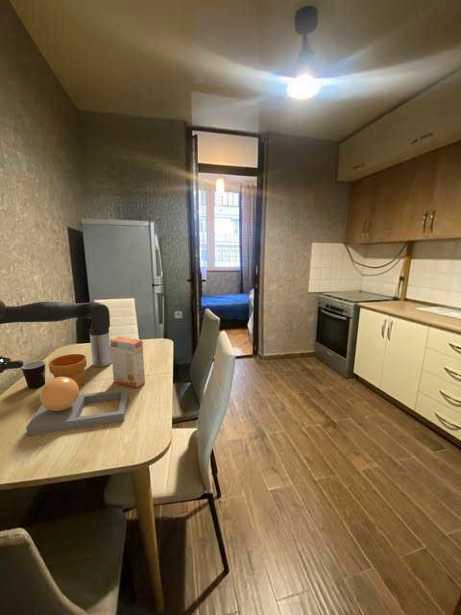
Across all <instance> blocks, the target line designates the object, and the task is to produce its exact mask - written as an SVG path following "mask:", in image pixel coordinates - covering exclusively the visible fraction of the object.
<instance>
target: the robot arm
mask: <svg viewBox="0 0 461 615" xmlns="http://www.w3.org/2000/svg"><path fill="white" fill-rule="evenodd" d="M109 309H110V308H109V307H108V306H107V305H106V304H103V303H100V302H97V301H93V302H82V303H76V302H75V303H73V302H61V301H39V302H38V301H37V302H32V303H27V304H22V305H16V306H15V305H11V306H10V305H9V306H7V305H6V304H5V303H4V301H3V300H2V299H0V325H4V324H11V323H12V324H13V323H45V322H46V323H56V322H63V321H68V320H71V319H89V320H90V321H91V327H90V328H89V331H88V332H89V341H90V350H91V359H92V366H94V367H95V368H101V367H102V368H103V367H107V366H109V365H111V364H112V354H111V342H110V340H111V338H110V326H111V315H110V310H109ZM11 360H12V359H11V357H10V358H9V357H5V356H2V355H1V356H0V374H1V373H4V371H9V370H12V369H14V370H16V369H22V368H21V367H22V366H23V365H24V361H23V360H12V361H11Z"/></svg>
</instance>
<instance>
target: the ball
mask: <svg viewBox="0 0 461 615" xmlns="http://www.w3.org/2000/svg"><path fill="white" fill-rule="evenodd" d="M78 395H80V388H79V387H78V385H77V383H76V382H75V381H74V380H73V379H71V378H68V377H57V378H52V379H51V380H49V381H48V382H45V385H44V386H42V389H41V391H40V394H39V399H40V403H41V406H42V405H43V406H44V407H45V408H46V409H48V410H50V411H63V410H66V409H68V408H69V407H71V406H72V405H73V404H74V403H75V402H76V400H77V398H78Z"/></svg>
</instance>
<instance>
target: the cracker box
mask: <svg viewBox="0 0 461 615" xmlns="http://www.w3.org/2000/svg"><path fill="white" fill-rule="evenodd" d="M110 345H111V354H112V363H111V364H112V375H113V382H114V383H117V384H120V385H124V386H127V387H132V388H135V389H137V388H139V387H140V386H142V385H144V384H145V383H146V382H145V381H146V379H145V377H146V376H145V363H144V362H145V361H144V348H143V347H144V342H143V340H140V339H136V338H135V339H134V338H130V337H123V336H117V337H115V338H110Z"/></svg>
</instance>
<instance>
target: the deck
mask: <svg viewBox="0 0 461 615" xmlns="http://www.w3.org/2000/svg"><path fill="white" fill-rule="evenodd" d="M128 399H129V390H128V388H123V389H114V390H107V391H101V392H92V393H91V392H90V393H83V394H79V395H78V398H77V400H76V402H75V403H74V404H73V405H72V406H71V407H69V408H68V409H66V410H63V411H50V410H48V409H46V408H45V407H44V406H43V405H42V404H41V406H40V407H39V408H38V410H37V411H36V413H35V414H34V416H33V417H32V419H31V420H30V421H29V423H28V424H27V426H26V427H25V428H26V433H27V436H33V435H39V434H47V433H52V432H59V431H65V430H72V429H78V428H87V427H91V426H98V425H106V424H113V423H118V422H119V423H120V422H124V421H125V417H126V411H127V404H128V401H129V400H128ZM113 400H120V401H119V405H118V410H116V411H109V412H104V413H95V414H88V415H81V414H82V412H83V410H84V408H85V405H86V404H90V403H91V404H92V403H98V402H104V401H105V402H106V401H113Z"/></svg>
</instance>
